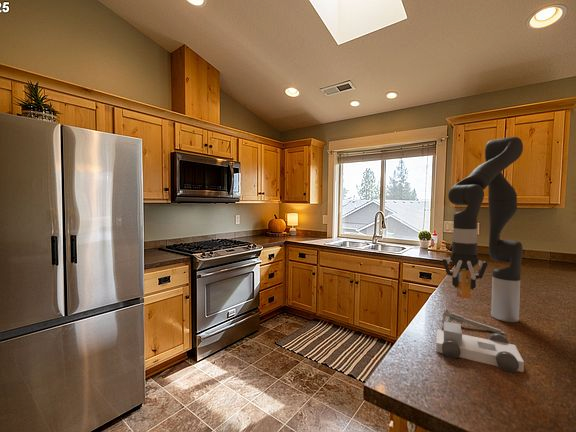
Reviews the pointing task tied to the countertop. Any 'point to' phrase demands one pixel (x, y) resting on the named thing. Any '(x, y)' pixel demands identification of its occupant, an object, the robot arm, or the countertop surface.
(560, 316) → the countertop surface
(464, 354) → the chassis
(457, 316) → the caliper
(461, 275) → the supplement box
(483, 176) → the robot arm
